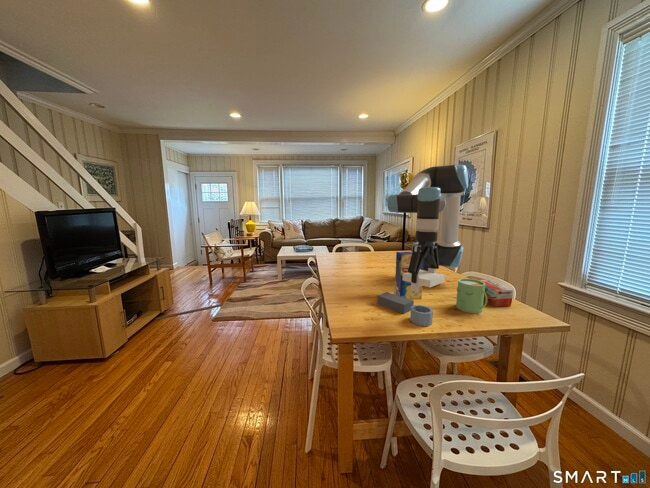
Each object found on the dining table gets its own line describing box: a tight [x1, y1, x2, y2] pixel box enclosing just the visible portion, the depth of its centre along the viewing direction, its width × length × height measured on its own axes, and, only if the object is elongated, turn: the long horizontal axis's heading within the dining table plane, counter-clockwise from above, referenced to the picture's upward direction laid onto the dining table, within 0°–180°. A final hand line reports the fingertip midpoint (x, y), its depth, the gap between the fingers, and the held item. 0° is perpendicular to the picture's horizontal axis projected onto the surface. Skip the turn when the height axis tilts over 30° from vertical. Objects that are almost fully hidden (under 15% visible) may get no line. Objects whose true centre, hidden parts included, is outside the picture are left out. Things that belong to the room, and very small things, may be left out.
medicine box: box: [478, 279, 514, 308], centre depth 119 cm, size 15×8×8 cm, turn 8°
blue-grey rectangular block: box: [376, 291, 415, 315], centre depth 112 cm, size 7×14×4 cm, turn 40°
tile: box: [403, 270, 446, 288], centre depth 96 cm, size 11×11×2 cm
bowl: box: [409, 304, 434, 327], centre depth 98 cm, size 8×8×5 cm
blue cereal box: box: [394, 251, 424, 300], centre depth 123 cm, size 7×11×22 cm, turn 96°
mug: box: [455, 278, 488, 314], centre depth 109 cm, size 13×10×12 cm
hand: (423, 287), depth 97 cm, fingers closed on tile, 11 cm apart
